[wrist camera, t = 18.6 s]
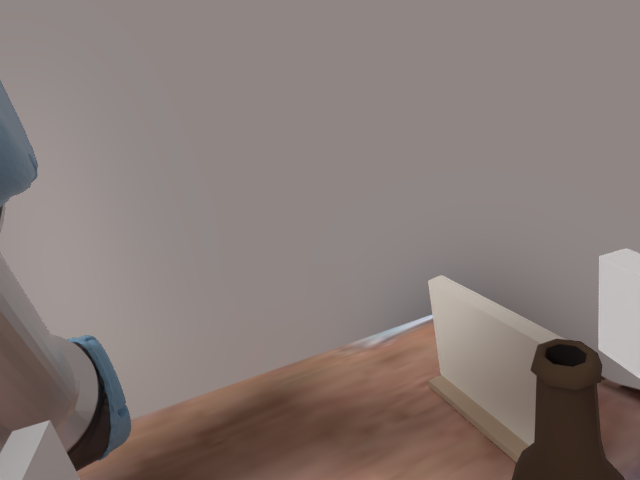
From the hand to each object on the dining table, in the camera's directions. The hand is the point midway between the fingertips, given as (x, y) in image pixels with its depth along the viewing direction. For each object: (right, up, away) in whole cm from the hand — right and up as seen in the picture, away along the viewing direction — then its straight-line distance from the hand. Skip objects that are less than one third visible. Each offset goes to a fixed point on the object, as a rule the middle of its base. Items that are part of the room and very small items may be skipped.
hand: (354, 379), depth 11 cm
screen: (+20, -18, +44) cm, 52 cm away
